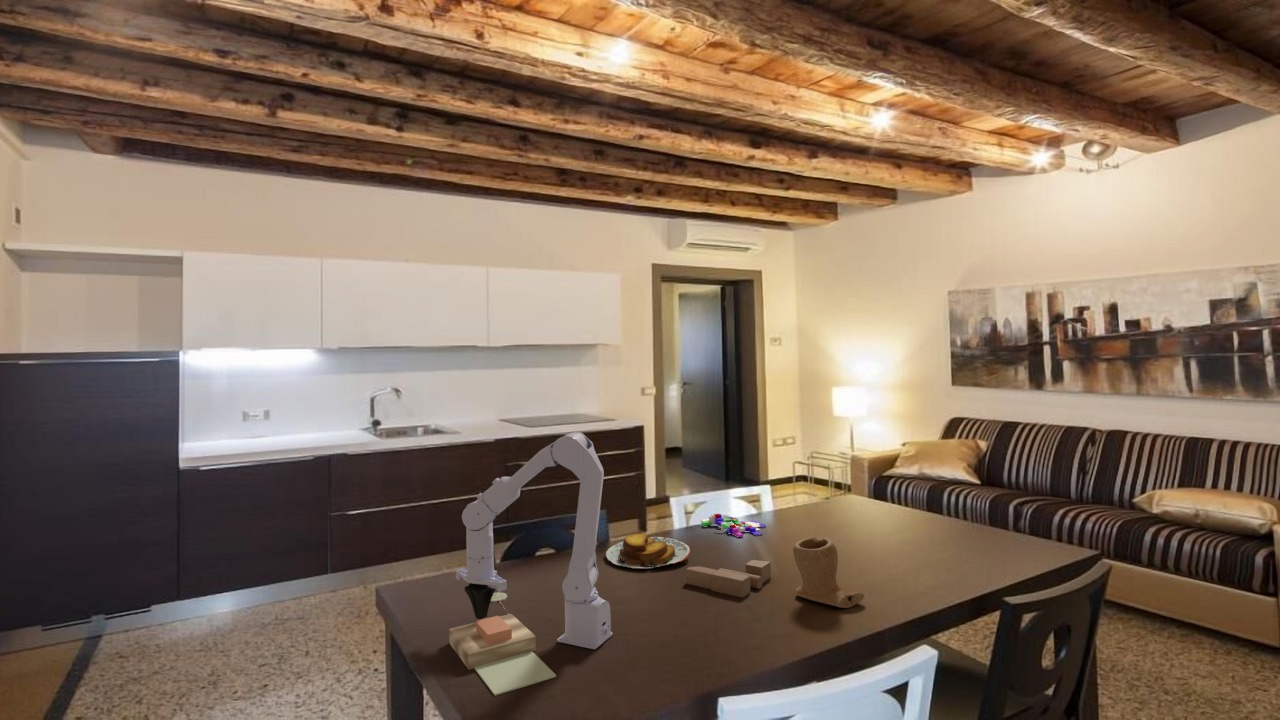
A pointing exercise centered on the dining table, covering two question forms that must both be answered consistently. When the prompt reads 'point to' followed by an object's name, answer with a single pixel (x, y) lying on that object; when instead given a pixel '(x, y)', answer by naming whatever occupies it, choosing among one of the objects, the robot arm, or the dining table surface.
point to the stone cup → (822, 574)
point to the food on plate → (647, 551)
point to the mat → (514, 672)
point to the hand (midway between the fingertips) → (481, 617)
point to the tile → (493, 630)
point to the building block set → (732, 528)
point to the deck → (480, 652)
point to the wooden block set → (730, 578)
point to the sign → (499, 598)
